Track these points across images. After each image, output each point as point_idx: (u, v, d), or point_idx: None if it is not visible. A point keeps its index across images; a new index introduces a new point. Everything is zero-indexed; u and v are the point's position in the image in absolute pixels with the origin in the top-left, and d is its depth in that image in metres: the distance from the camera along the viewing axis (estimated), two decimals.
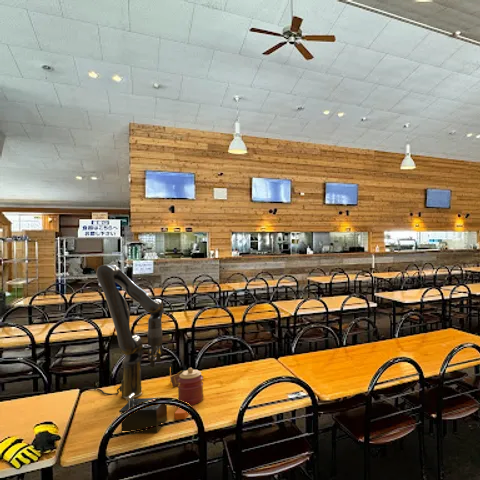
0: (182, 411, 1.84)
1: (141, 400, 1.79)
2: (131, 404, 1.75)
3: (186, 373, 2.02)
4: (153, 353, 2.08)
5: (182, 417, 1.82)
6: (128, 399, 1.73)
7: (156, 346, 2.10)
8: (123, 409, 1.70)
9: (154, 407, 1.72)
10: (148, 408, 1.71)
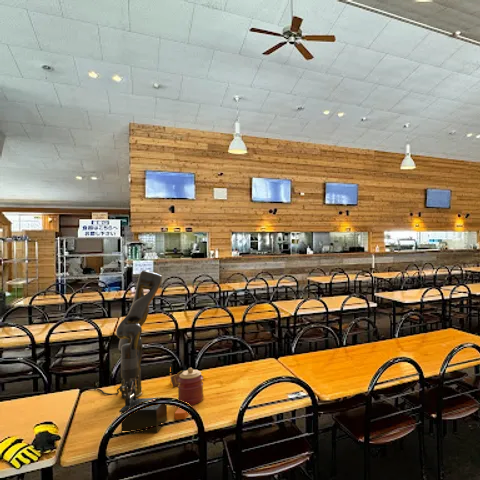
0: (182, 411, 1.84)
1: (141, 400, 1.79)
2: (131, 404, 1.75)
3: (186, 373, 2.02)
4: (127, 388, 1.73)
5: (182, 417, 1.82)
6: None
7: (131, 379, 1.74)
8: (123, 409, 1.70)
9: (154, 407, 1.72)
10: (148, 408, 1.71)
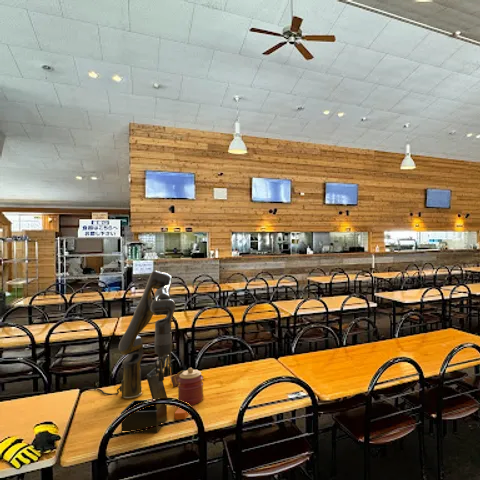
0: (182, 411, 1.84)
1: None
2: (154, 375, 1.76)
3: (186, 373, 2.02)
4: None
5: (182, 417, 1.82)
6: None
7: (164, 355, 1.75)
8: (149, 377, 1.71)
9: (158, 404, 1.72)
10: None
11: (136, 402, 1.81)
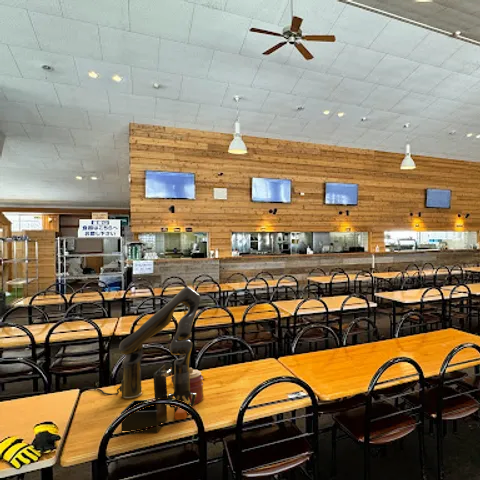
0: (182, 411, 1.84)
1: (164, 377, 1.80)
2: None
3: None
4: None
5: (182, 417, 1.82)
6: (165, 375, 1.74)
7: (179, 393, 1.85)
8: (156, 376, 1.71)
9: (158, 404, 1.72)
10: None
11: (136, 402, 1.81)
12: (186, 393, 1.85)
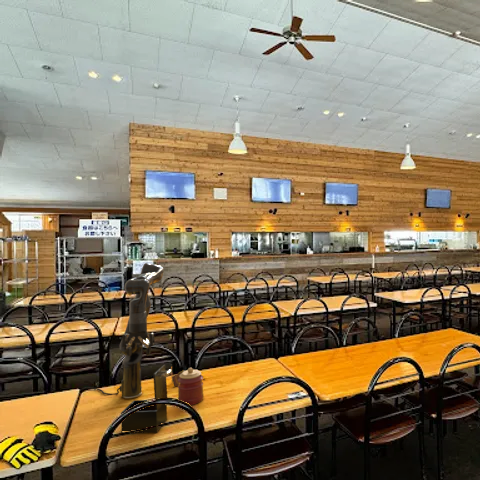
0: None
1: (164, 377, 1.80)
2: None
3: (186, 373, 2.02)
4: None
5: None
6: (165, 375, 1.74)
7: (134, 334, 1.78)
8: (156, 376, 1.71)
9: (158, 404, 1.72)
10: None
11: (136, 402, 1.81)
12: (142, 334, 1.78)
